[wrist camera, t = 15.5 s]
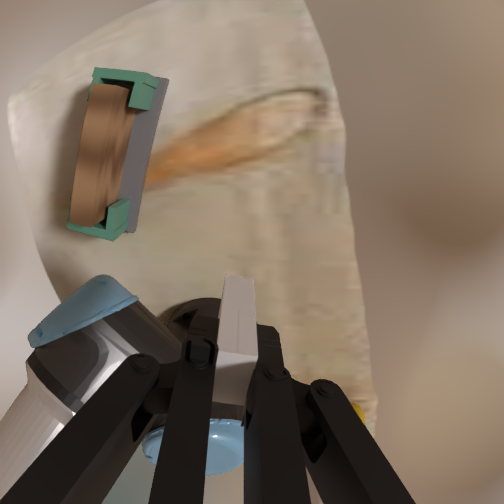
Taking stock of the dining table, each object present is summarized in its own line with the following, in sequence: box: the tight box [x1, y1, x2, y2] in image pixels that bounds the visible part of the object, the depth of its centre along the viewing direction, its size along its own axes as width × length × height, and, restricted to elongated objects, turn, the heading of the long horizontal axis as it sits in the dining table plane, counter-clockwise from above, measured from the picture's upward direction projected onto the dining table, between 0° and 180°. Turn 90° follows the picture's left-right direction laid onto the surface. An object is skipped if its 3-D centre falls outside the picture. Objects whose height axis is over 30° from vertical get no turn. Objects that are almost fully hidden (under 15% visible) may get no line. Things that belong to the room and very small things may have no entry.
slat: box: [70, 83, 137, 228], centre depth 34 cm, size 16×3×8 cm, turn 164°
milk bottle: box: [306, 468, 323, 504], centre depth 55 cm, size 8×8×20 cm
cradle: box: [67, 67, 169, 241], centre depth 36 cm, size 21×9×6 cm, turn 164°
